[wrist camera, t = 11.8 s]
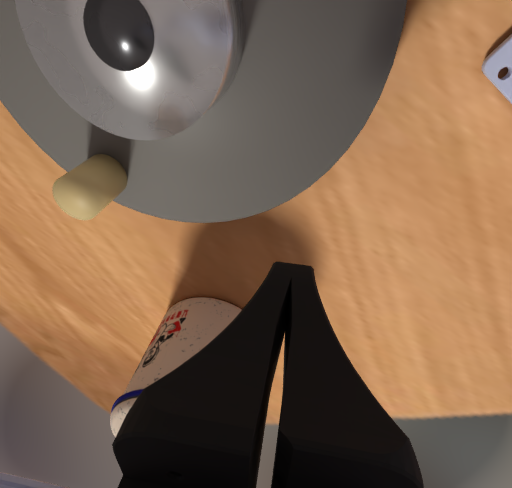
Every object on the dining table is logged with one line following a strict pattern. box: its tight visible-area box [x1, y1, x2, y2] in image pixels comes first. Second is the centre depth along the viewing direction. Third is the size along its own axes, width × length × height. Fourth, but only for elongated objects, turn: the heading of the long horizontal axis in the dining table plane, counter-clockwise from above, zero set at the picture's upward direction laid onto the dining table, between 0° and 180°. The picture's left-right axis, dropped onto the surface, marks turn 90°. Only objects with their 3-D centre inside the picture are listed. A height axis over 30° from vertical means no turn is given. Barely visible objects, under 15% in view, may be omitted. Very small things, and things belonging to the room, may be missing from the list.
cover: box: [15, 0, 245, 140], centre depth 14 cm, size 8×8×3 cm
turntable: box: [0, 0, 407, 223], centre depth 15 cm, size 20×20×5 cm
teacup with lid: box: [110, 297, 242, 438], centre depth 26 cm, size 12×9×12 cm
